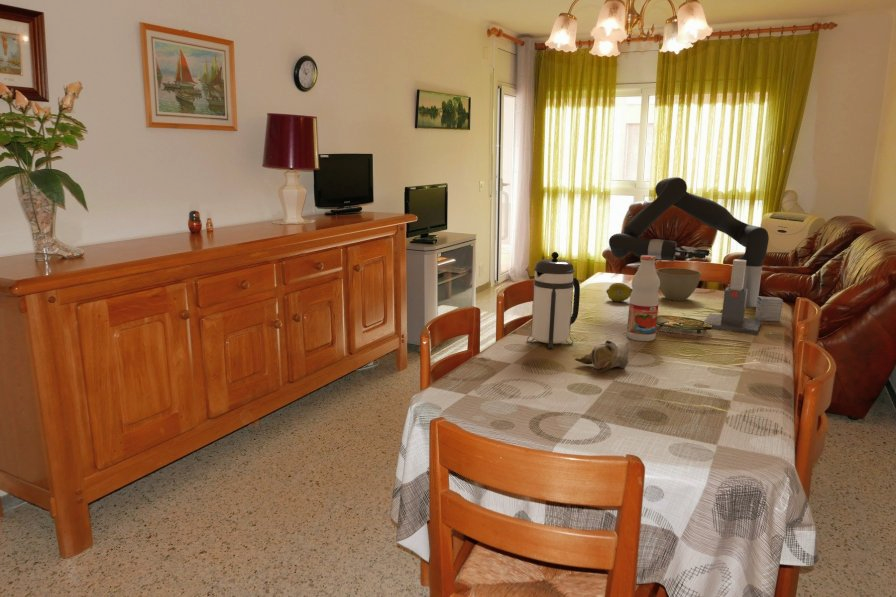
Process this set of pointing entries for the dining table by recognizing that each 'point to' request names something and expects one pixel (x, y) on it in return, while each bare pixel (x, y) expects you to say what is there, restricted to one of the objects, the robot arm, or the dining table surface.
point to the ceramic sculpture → (607, 356)
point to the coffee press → (554, 301)
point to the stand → (734, 314)
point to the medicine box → (768, 308)
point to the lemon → (619, 292)
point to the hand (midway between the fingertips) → (707, 254)
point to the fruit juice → (644, 301)
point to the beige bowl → (678, 282)
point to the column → (738, 275)
